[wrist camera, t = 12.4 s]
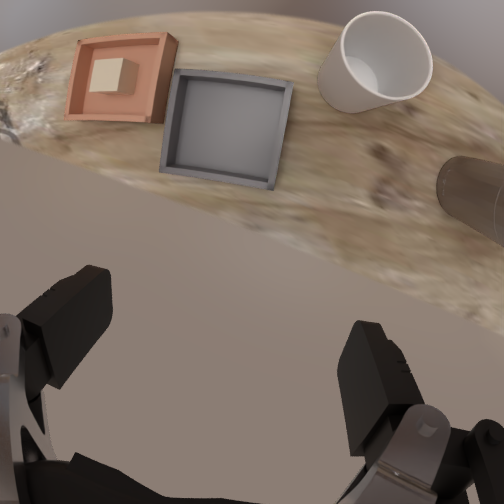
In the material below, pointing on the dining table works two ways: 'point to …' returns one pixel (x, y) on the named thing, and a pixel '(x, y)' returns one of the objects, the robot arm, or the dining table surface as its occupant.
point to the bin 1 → (147, 84)
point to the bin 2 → (225, 127)
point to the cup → (375, 64)
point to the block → (114, 77)
